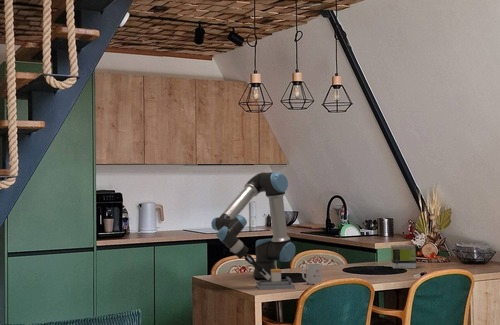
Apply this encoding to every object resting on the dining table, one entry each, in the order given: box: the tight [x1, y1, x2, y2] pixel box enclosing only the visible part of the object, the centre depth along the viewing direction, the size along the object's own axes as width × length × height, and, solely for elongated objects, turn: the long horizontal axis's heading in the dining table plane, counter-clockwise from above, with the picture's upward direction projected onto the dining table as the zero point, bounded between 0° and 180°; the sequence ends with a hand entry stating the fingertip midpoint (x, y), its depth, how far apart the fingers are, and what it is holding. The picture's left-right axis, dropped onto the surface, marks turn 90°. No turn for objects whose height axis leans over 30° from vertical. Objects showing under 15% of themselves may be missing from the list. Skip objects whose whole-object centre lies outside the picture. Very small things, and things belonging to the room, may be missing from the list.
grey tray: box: [255, 276, 296, 291], centre depth 388 cm, size 20×13×5 cm, turn 97°
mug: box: [301, 263, 323, 286], centre depth 397 cm, size 12×9×11 cm
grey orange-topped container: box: [270, 268, 282, 282], centre depth 388 cm, size 5×5×8 cm
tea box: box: [390, 244, 417, 269], centre depth 458 cm, size 15×10×15 cm, turn 84°
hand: (269, 278), depth 388 cm, fingers closed
